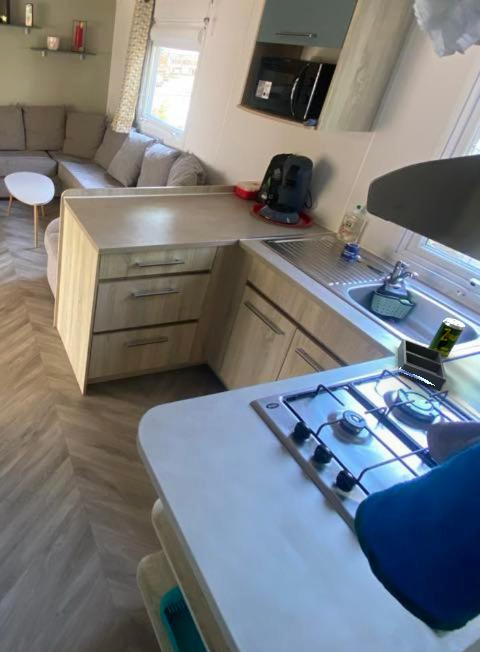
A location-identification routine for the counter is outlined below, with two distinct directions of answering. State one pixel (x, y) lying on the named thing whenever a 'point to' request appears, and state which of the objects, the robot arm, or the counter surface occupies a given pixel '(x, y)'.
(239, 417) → the counter surface
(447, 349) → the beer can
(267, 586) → the counter surface
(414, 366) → the caddy
